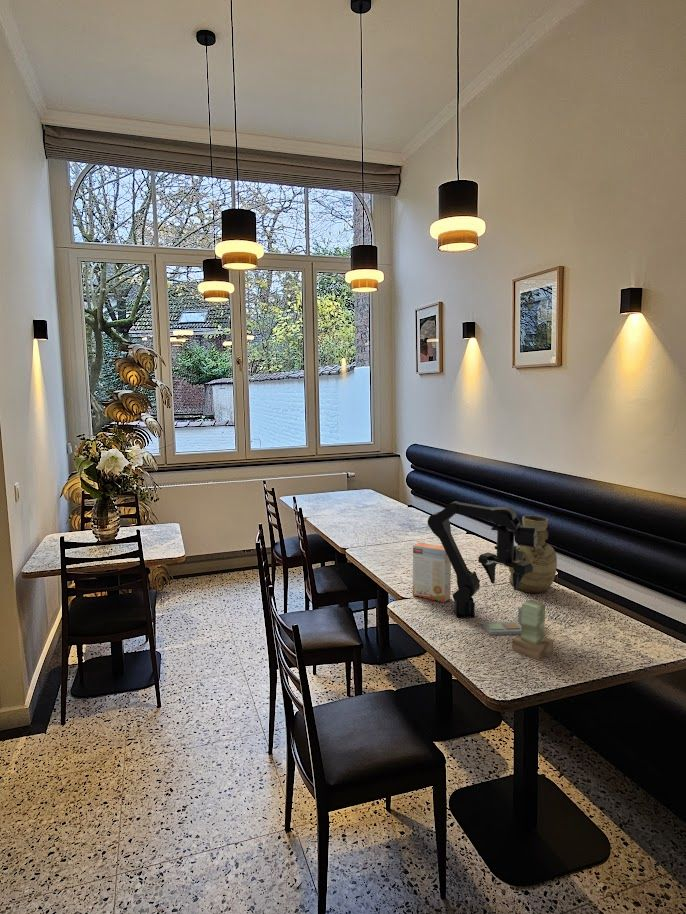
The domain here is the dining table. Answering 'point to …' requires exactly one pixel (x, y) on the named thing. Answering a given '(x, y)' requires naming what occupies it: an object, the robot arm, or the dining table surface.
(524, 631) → the sage pillar
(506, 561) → the robot arm
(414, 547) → the cracker box
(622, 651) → the dining table surface
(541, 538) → the ceramic vessel
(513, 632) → the board
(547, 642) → the walnut base block
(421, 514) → the dining table surface
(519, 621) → the charcoal cube
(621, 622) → the dining table surface
